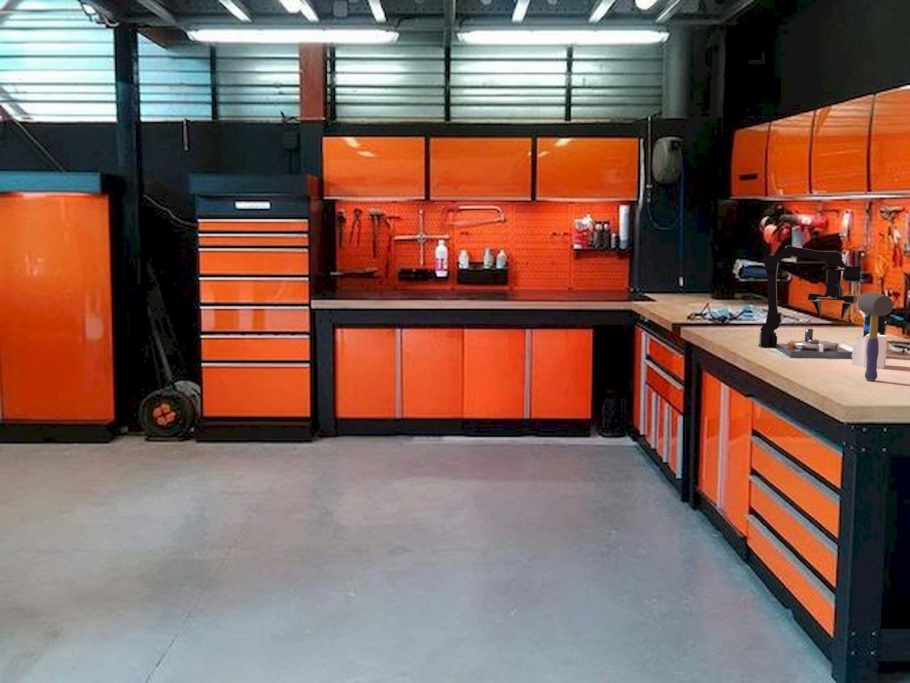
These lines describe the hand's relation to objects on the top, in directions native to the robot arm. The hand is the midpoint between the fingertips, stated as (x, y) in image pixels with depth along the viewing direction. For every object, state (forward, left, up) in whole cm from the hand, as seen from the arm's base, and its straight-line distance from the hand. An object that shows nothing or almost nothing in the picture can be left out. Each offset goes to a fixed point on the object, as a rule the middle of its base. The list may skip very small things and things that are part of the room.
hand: (830, 318), depth 398 cm
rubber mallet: (-9, -78, -14) cm, 80 cm away
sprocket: (-10, -13, -11) cm, 20 cm away
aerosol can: (+12, -17, -14) cm, 25 cm away
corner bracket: (+2, -43, -14) cm, 45 cm away
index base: (-10, -13, -13) cm, 21 cm away
